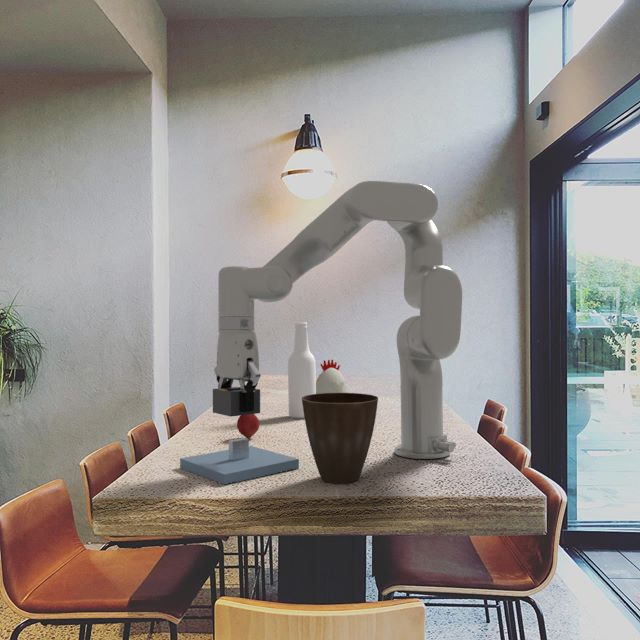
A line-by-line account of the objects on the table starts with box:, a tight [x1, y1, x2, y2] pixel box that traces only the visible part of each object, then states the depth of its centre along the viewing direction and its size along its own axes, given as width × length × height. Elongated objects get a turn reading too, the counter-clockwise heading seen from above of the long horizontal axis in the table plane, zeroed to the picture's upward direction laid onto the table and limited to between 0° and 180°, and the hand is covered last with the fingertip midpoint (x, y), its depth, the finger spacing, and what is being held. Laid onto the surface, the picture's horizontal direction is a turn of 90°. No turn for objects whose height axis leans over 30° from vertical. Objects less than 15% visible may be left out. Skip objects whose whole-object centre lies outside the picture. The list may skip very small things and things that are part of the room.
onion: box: [236, 414, 260, 439], centre depth 159 cm, size 6×6×8 cm
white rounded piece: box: [316, 359, 350, 394], centre depth 237 cm, size 14×14×15 cm
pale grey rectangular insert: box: [228, 437, 250, 461], centre depth 128 cm, size 2×4×4 cm, turn 130°
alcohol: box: [287, 321, 317, 420], centre depth 193 cm, size 9×9×30 cm
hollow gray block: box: [212, 386, 261, 418], centre depth 128 cm, size 7×7×5 cm
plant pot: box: [302, 392, 379, 484], centre depth 119 cm, size 15×15×16 cm
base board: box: [179, 445, 300, 485], centre depth 128 cm, size 18×18×2 cm
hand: (236, 408), depth 128 cm, fingers closed on hollow gray block, 7 cm apart
